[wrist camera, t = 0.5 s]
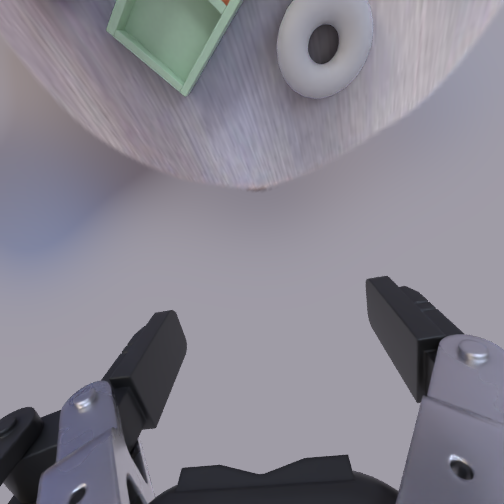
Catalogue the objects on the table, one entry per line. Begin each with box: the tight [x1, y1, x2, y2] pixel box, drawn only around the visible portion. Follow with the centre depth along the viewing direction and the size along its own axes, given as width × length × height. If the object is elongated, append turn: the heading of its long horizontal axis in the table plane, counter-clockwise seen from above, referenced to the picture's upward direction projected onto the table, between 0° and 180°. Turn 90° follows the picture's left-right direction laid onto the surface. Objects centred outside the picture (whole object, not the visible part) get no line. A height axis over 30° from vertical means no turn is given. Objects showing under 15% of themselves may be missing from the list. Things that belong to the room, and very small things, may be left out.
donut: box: [277, 0, 374, 99], centre depth 27 cm, size 10×4×10 cm
